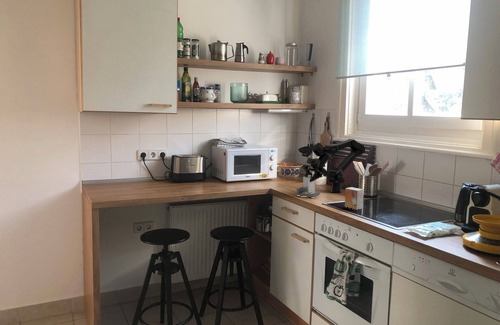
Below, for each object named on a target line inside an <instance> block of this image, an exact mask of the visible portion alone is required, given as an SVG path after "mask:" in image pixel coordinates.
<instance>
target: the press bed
mask: <svg viewBox="0 0 500 325" xmlns="http://www.w3.org/2000/svg"><path fill="white" fill-rule="evenodd" d="M320 193H321V192H320V191H319V192H318V191H315V192H311V193H307V192H303V185H302V186H299V187H297V188H296V195H300V196H307V197H316V196H318V195H320ZM296 195H295V196H296ZM318 197H319V196H318ZM316 198H317V197H316Z"/></svg>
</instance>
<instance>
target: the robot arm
mask: <svg viewBox="0 0 500 325" xmlns="http://www.w3.org/2000/svg"><path fill="white" fill-rule="evenodd" d="M364 146H365V145H364V144H362V143H361V142H358V141H357V140H355V139H354V138H348V139H346V140H343V141H339V142H337V143H334V144H332V143H331V144H325V145H324V146H323V145H322V143H321V142H317V143H316V144H315V143H314V145H313V146H311V151H312V153H313V154H314V156H316V157H314V158H312V157H307V160H306V161H305V162H306V164H303V165H302V169H303V170H304V171H305V176H304V177H306V176H308V175H311V176H312V178H311V179H310V182H313V181H314V180H315V181H316V180H318V179H321V178H323V177H324V178H328V182H330V183H331V190H330V191H329V192H330V193H333V192H334V193H335V194H336V193H337V194H341V193H342V192H344V191H343V190H342V184H344V183H345V181H346V180H345V178H344V177H343V176H344V172H345V171H346V170H347V168H348V167H350V166H351V164H352V163H353V162H354V161H355V159H356V158H359V157H360V156H362V155H364V153H366V150H365V148H366V146H365V147H364ZM346 148H349V149H350V152H349V153H348V155H346V156H345V158H344V159H343V160H342V162H340V163H339V165H338V166H336V167H335V166H332V167H331V168H330V169H329V170H327V169H326V166H327V165H326V164H327V163H328V162H329V161H330V162H332V161H333V159H332V156H333V155H336V154H338V152H339V151H340V150H344V149H346ZM331 155H332V156H331ZM317 157H318V158H317Z"/></svg>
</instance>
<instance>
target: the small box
mask: <svg viewBox="0 0 500 325" xmlns="http://www.w3.org/2000/svg"><path fill="white" fill-rule="evenodd" d="M344 191H345V193H344V207H345V208H347V207H348V209H351V208H352V209H351V210H355V211H359V210H362V209H363V208H364V192H365V191H364V189H363V188H356V187H353V186H351V187H346V188H345V190H344ZM358 209H359V210H358Z"/></svg>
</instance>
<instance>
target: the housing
mask: <svg viewBox="0 0 500 325" xmlns="http://www.w3.org/2000/svg"><path fill="white" fill-rule="evenodd" d="M312 176H313V175H312ZM312 176H311V175H308V176H306V177H305V176H303V177H302V179H303V180H302V182H303V184H302V186H303V192H307V193H311V192H316V180H314V181H313V182H310V179H311V178H312Z"/></svg>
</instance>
